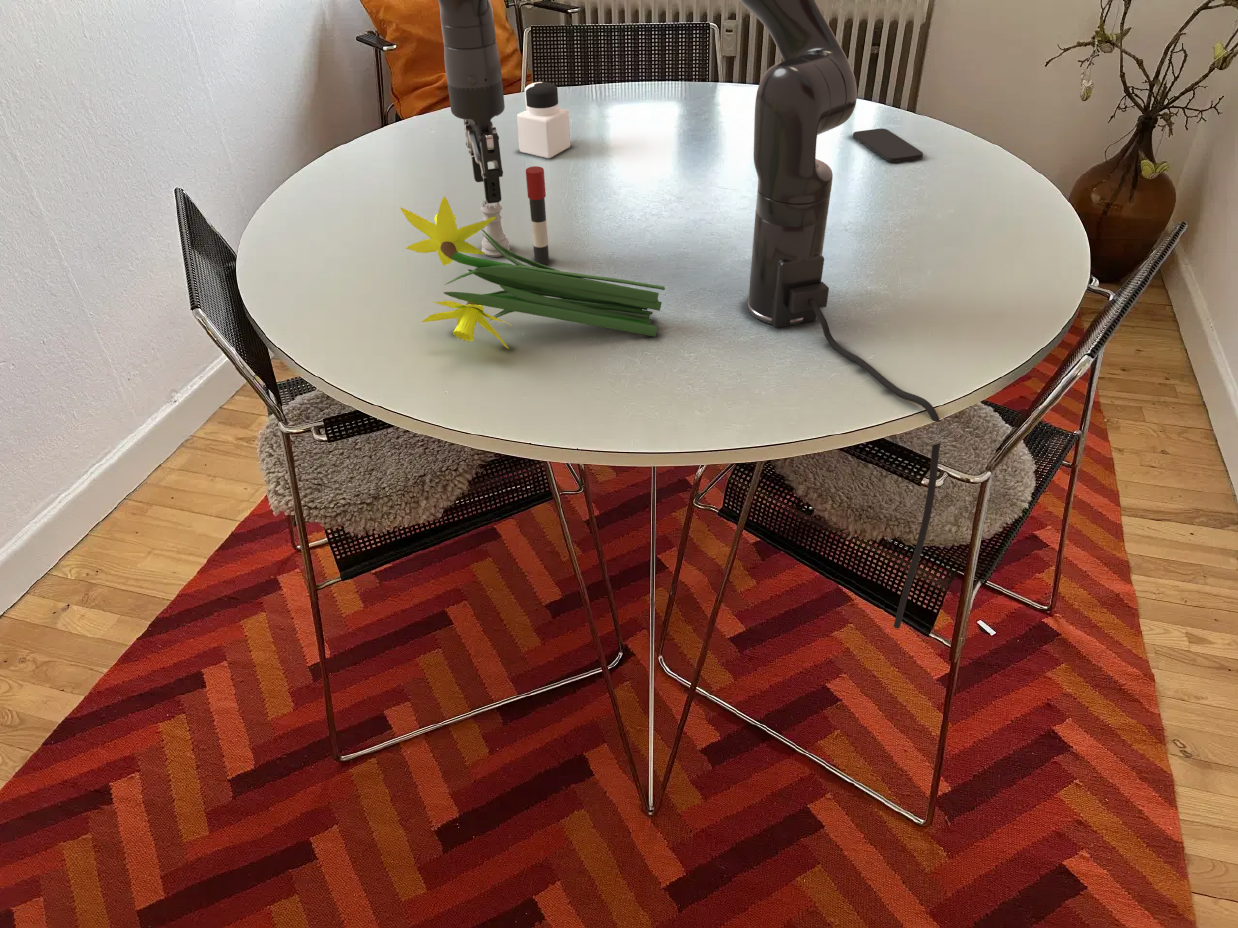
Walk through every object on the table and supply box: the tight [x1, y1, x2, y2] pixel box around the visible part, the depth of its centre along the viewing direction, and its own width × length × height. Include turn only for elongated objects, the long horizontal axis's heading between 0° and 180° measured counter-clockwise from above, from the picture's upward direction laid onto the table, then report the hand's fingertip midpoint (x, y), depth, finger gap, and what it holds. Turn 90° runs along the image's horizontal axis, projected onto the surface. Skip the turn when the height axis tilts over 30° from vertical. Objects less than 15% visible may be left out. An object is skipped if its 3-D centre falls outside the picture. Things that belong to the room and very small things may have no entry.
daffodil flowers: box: [399, 196, 666, 350], centre depth 119 cm, size 17×15×35 cm
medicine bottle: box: [516, 81, 571, 159], centre depth 171 cm, size 7×7×12 cm
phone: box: [852, 128, 924, 163], centre depth 172 cm, size 7×1×15 cm
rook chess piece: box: [480, 199, 511, 258], centre depth 140 cm, size 4×4×8 cm
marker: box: [525, 165, 550, 266], centre depth 134 cm, size 3×3×14 cm
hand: (487, 191), depth 136 cm, fingers open, 8 cm apart
